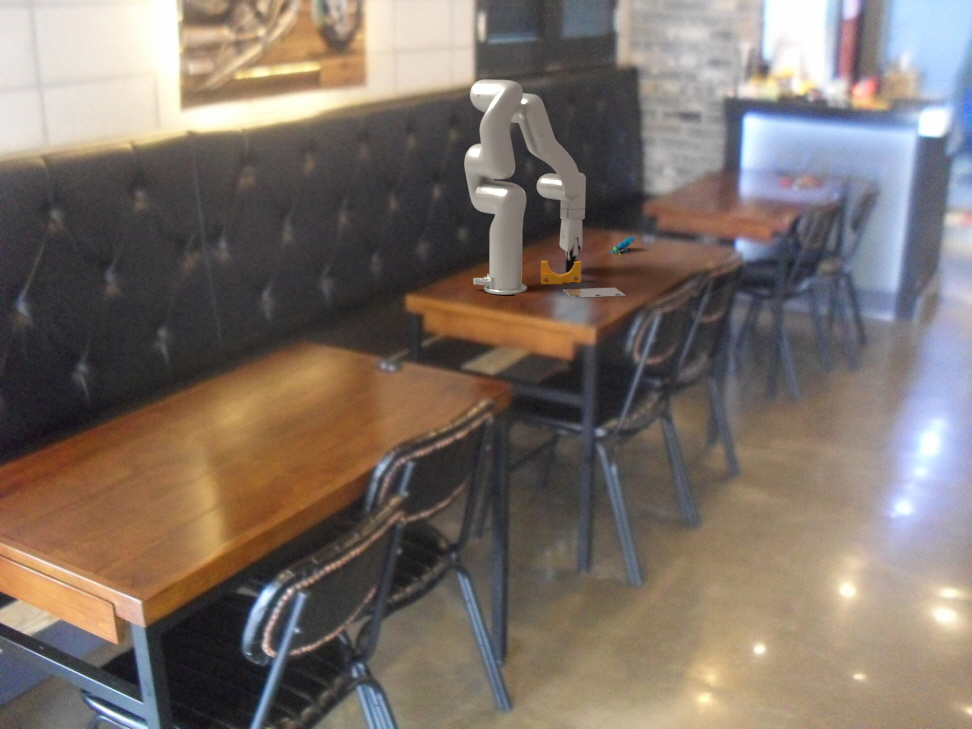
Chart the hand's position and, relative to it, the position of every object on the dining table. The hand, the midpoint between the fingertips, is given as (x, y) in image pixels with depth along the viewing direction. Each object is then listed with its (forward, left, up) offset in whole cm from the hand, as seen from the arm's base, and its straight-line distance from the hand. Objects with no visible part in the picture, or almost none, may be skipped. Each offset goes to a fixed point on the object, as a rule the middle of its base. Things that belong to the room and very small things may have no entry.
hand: (571, 272), depth 328 cm
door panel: (0, -25, -1) cm, 25 cm away
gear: (+23, +26, -2) cm, 35 cm away
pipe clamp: (-6, -10, -2) cm, 11 cm away
